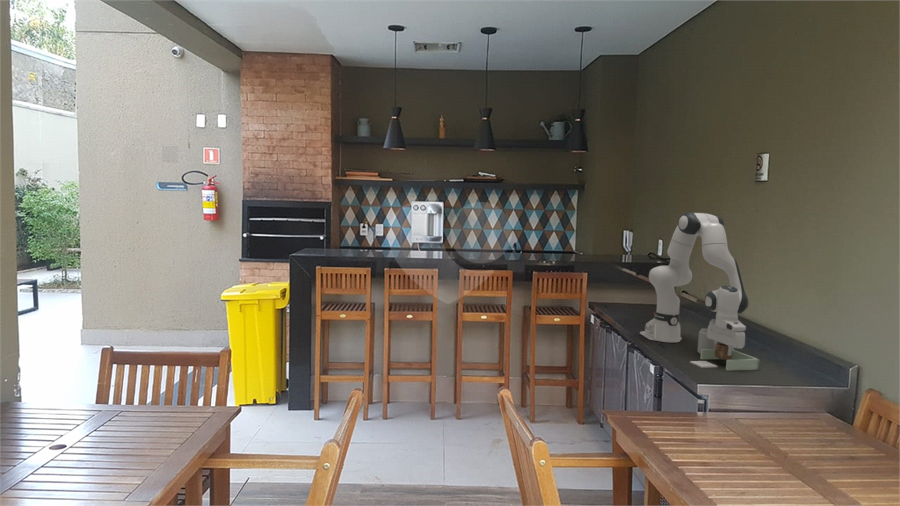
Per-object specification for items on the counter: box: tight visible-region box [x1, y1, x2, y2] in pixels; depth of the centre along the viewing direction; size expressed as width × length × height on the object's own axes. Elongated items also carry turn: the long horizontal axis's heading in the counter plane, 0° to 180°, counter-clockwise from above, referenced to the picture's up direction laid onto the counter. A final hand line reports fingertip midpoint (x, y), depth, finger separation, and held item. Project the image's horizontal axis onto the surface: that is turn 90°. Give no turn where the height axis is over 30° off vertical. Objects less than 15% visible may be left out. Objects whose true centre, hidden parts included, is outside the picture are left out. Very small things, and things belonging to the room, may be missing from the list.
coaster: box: [689, 360, 718, 369], centre depth 260 cm, size 8×8×1 cm
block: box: [715, 343, 733, 361], centre depth 262 cm, size 5×5×6 cm
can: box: [696, 327, 716, 355], centre depth 279 cm, size 8×8×12 cm
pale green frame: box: [699, 349, 760, 372], centre depth 263 cm, size 18×16×4 cm
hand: (723, 353), depth 262 cm, fingers closed on block, 5 cm apart
